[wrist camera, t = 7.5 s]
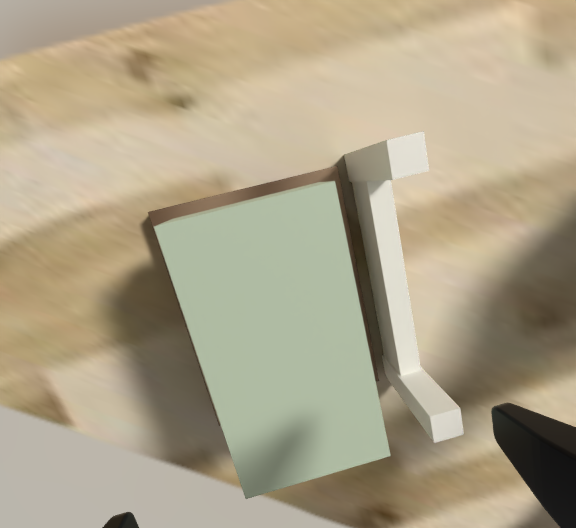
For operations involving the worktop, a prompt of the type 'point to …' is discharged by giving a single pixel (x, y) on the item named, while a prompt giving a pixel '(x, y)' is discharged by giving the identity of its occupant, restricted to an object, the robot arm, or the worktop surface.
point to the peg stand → (259, 191)
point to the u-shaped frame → (397, 278)
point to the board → (279, 334)
